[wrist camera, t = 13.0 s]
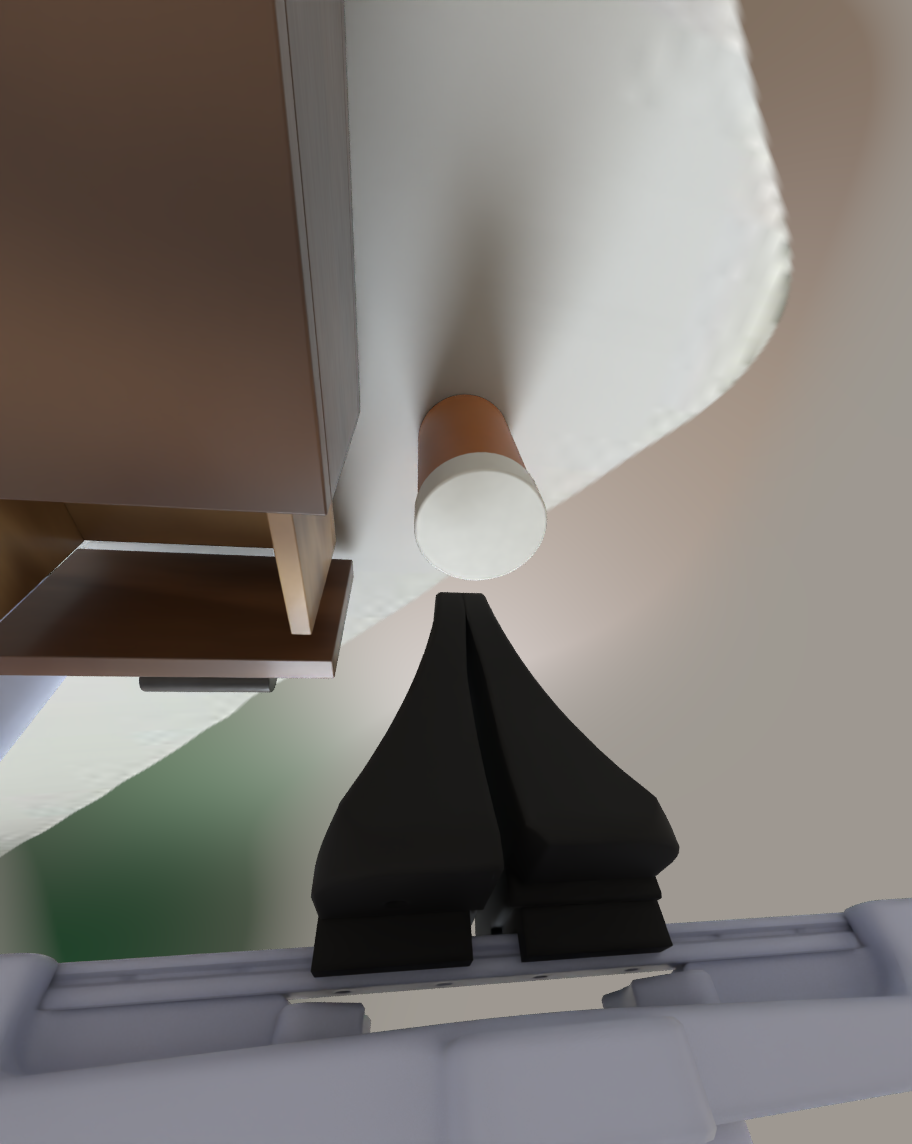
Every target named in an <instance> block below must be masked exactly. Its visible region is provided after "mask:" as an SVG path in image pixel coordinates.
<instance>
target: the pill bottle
mask: <svg viewBox="0 0 912 1144" xmlns="http://www.w3.org/2000/svg"><path fill="white" fill-rule="evenodd" d="M546 526H547V513H546V508H545V504H544V502H543V499H542V497H541V495H540V493H539V490H538V488H537V486H536V484H535V481H534V480H533V478H532V477H531V475H530V474H529V473H528V471H527V470H526V468H525V465H524V463H523V461H522V458H521V456H520V454H519V451H518V449H517V447H516V444H515V442H514V440H513V437H512V435H511V433H510V430H509V428H508V426H507V423H506V421H505V419H504V417H503V415H502V414H501V412H500V411H499V410H498V408H497V407H496V406H494V405H493V404H492V403H491V402H489V401H488V400H486V399H484V398H482V397H478V396H475V395H456V396H452V397H449V398H446V399H444V400H442V401H441V402H439V403H438V404H436V405H435V406H434V407H433V408H432V409H431V410H430V411H429V412H428V413H427V415H426V416H425V418H424V420H423V421H422V424H421V426H420V430H419V437H418V494H417V498H416V502H415V521H414V529H415V538H416V542H417V545H418V547H419V549H420V551H421V553H422V554H423V556H424V557H425V558H426V560H427V561H428V562H429V563H430V564H431V565H433V566H434V567H435V568H436V569H438V570H440V571H441V572H443V573H445V574H447V575H450V576H453V577H456V578H460V579H465V580H486V579H492V578H496V577H500V576H503V575H505V574H508V573H510V572H512V571H514V570H515V569H517V568H519V567H520V566H521V565H523V564H524V563H525V562H526V561H527V560H529V559H530V558H531V557H532V555H533V554H534V553H535V551H536V550H537V549H538V547H539V546H540V544H541V542H542V540H543V537H544V534H545V530H546Z"/></svg>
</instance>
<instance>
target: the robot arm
mask: <svg viewBox="0 0 912 1144" xmlns="http://www.w3.org/2000/svg"><path fill="white" fill-rule="evenodd" d="M47 577H48V576H47ZM47 577H45V578H44V579H43V580H42V581H41V582H40V583H39V584H38V585H37V586H36V587H35V588H34V589H33V590H32V591H34V590H35V589H36V588H37V587H38V586H39V585H40V584H41V583H42V582H43V581H44V580H45V579H46V578H47ZM32 591H31V592H32ZM31 592H30V593H31ZM30 593H29V594H30ZM29 594H28V595H29ZM28 595H26V596H25V597H24V598H23V599H22V600H21V601H20V602H19V603H18V604H17V605H16V606H15V607H14V608H13V609H12V610H11V611H13V610H14V609H15V608H16V607H17V606H18V605H19V604H20V603H21V602H22V601H23V600H24V599H25V598H26V597H27V596H28ZM11 611H10V612H11ZM10 612H9V613H10ZM9 613H8V614H9ZM8 614H6V615H5V616H4V617H3V618H2V619H1V620H0V622H1V621H2V620H3V619H4V618H5V617H6V616H7V615H8ZM66 677H67V676H24V675H0V761H1V760H2V759H3V757H4V756H5V755H6V754H7V752H8V751H9V750H10V748H11V747H12V746H13V745H14V743H15V742H16V741H17V739H18V738H19V737H20V736H21V734H22V733H23V732H24V730H25V729H26V728H27V727H28V725H29V724H30V723H31V721H32V720H33V719H34V718H35V716H36V715H37V714H38V713H39V711H40V710H41V709H42V707H43V706H44V705H45V704H46V702H47V701H48V700H49V698H50V697H51V696H52V695H53V693H54V692H55V691H56V689H57V688H58V687H59V686H60V684H61V683H62V682H63V680H64V679H65V678H66ZM678 853H679V844H678V842H677V840H676V837H675V835H674V833H673V830H672V828H671V825H670V823H669V821H668V819H667V817H666V815H665V813H664V812H663V810H662V808H661V806H660V804H659V802H658V800H657V798H656V797H655V796H654V795H652V794H651V793H650V792H649V791H648V790H646V789H645V788H644V787H643V786H641V785H640V784H639V783H638V782H636V781H635V780H634V779H633V778H631V777H630V776H629V775H628V774H626V773H625V772H624V771H623V770H622V769H620V768H619V767H618V766H617V765H616V764H615V763H614V762H612V761H611V760H610V759H609V758H608V757H607V756H606V755H605V754H604V753H603V752H601V751H600V750H599V749H598V748H597V747H596V746H595V745H594V744H593V743H592V742H591V741H590V740H589V739H588V738H587V737H586V736H585V735H584V734H583V733H582V732H581V731H580V730H579V729H578V728H577V727H576V726H575V725H574V724H573V723H572V722H571V721H570V720H569V719H568V718H567V716H566V715H565V714H564V713H563V712H562V711H561V710H560V709H559V708H558V706H557V705H556V704H555V703H554V702H553V701H552V699H551V698H550V697H549V696H548V695H547V693H546V692H545V691H544V690H543V689H542V687H541V686H540V685H539V683H538V682H537V681H536V680H535V678H534V677H533V676H532V674H531V673H530V671H529V670H528V669H527V667H526V666H525V664H524V663H523V662H522V660H521V659H520V657H519V656H518V654H517V653H516V651H515V649H514V648H513V646H512V645H511V643H510V641H509V640H508V639H507V637H506V635H505V633H504V632H503V630H502V628H501V627H500V625H499V623H498V621H497V620H496V618H495V616H494V614H493V612H492V610H491V608H490V606H489V604H488V602H487V600H486V597H485V596H484V595H483V594H481V593H448V592H440V593H438V594H437V595H436V600H435V612H434V621H433V625H432V629H431V633H430V636H429V639H428V643H427V646H426V649H425V652H424V654H423V657H422V660H421V662H420V665H419V668H418V670H417V673H416V675H415V678H414V680H413V682H412V684H411V686H410V689H409V691H408V693H407V695H406V697H405V699H404V701H403V703H402V705H401V707H400V709H399V711H398V712H397V714H396V716H395V718H394V720H393V722H392V724H391V725H390V727H389V729H388V731H387V732H386V734H385V736H384V737H383V739H382V741H381V742H380V744H379V746H378V747H377V749H376V751H375V752H374V754H373V755H372V757H371V758H370V760H369V762H368V763H367V765H366V766H365V768H364V769H363V771H362V772H361V774H360V775H359V776H358V778H357V779H356V781H355V782H354V784H353V785H352V786H351V788H350V789H349V791H348V792H347V793H346V795H345V796H344V798H343V799H342V800H341V802H340V803H339V806H338V809H337V811H336V813H335V815H334V817H333V819H332V821H331V823H330V826H329V828H328V830H327V833H326V835H325V837H324V840H323V842H322V845H321V848H320V851H319V854H318V857H317V861H316V865H315V871H314V878H313V885H312V893H311V898H312V901H313V903H314V906H315V908H316V911H317V913H318V924H317V930H316V937H315V944H314V947H302V948H287V949H270V950H255V951H240V952H224V953H209V954H193V955H179V956H163V957H148V958H132V959H116V960H101V961H85V962H71V963H57V961H56V960H55V959H53V958H51V957H49V956H46V955H42V954H34V953H13V954H0V1144H753V1142H752V1139H751V1136H750V1134H749V1131H748V1128H747V1125H746V1123H745V1120H748V1119H753V1118H759V1117H765V1116H771V1115H776V1114H782V1113H787V1112H794V1111H799V1110H805V1109H811V1108H816V1107H821V1106H828V1105H834V1104H839V1103H845V1102H851V1101H857V1100H862V1099H868V1098H874V1097H880V1096H886V1095H891V1094H897V1093H903V1092H909V1091H912V898H902V899H886V900H874V901H868V902H864V903H860V904H857V905H854V906H852V907H850V908H847V909H846V910H845V911H844V912H841V913H826V914H810V915H795V916H780V917H765V918H748V919H733V920H719V921H718V920H717V921H703V922H687V923H671V924H665V921H664V918H663V915H662V912H661V910H660V907H659V904H658V901H657V900H659V899H661V898H662V896H661V890H660V888H659V885H658V882H657V879H656V877H655V876H656V875H658V874H659V873H660V872H661V871H662V870H664V868H666V867H667V866H668V865H670V864H671V863H672V862H673V860H675V858H676V857H677V855H678ZM474 919H475V934H476V936H472V934H471V925H472V922H473V920H474ZM664 970H673V972H672V973H671V974H665V975H659V976H653V977H648V978H642V979H636V980H633V981H632V983H631V984H630V985H629V986H627V987H625V988H623V989H621V990H618V991H615V992H612V993H609V994H606V995H604V996H603V998H602V1003H603V1007H604V1009H591V1010H577V1011H564V1012H552V1013H541V1014H530V1015H519V1016H509V1017H499V1018H489V1019H480V1020H472V1021H463V1022H454V1023H446V1024H438V1025H430V1026H422V1027H414V1028H406V1029H397V1030H390V1031H381V1032H373V1033H370V1026H371V1020H370V1018H369V1017H368V1016H367V1015H364V1013H365V1012H364V1011H365V1008H364V1006H363V1005H362V1003H332V1002H327V1003H326V1002H306V1003H296V1004H291V1003H290V1002H289V1001H288V1000H293V999H306V998H318V997H331V996H344V995H357V994H370V993H383V992H395V991H408V990H420V989H433V988H446V987H459V986H471V985H485V984H498V983H510V982H523V981H536V980H549V979H560V978H574V977H587V976H600V975H613V974H625V973H638V972H651V971H664Z"/></svg>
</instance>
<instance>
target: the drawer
mask: <svg viewBox="0 0 912 1144" xmlns="http://www.w3.org/2000/svg"><path fill="white" fill-rule="evenodd" d="M84 540H93V541H116V542H139V543H163V544H186V545H209V546H233V547H256V548H274V553H275V557H268V556H244V555H219V554H195V553H170V552H145V551H121V550H96V549H77V550H76V551H74V550H75V549H76V548H77V547H78V546H79V545H80V544H81V543H82V542H83V541H84ZM335 544H336V536H335V525H334V514H333V503H332V502H331V504H330V507H329V510H328V513H327V515H326V516H317V515H298V514H279V513H259V512H240V511H221V510H202V509H182V508H163V507H144V506H125V505H105V504H86V503H67V502H47V501H28V500H9V499H0V620H1V619H2V618H3V617H4V616H5V615H6V614H8V613H9V612H10V611H11V610H12V609H13V608H14V607H15V606H16V605H17V604H18V603H19V602H20V601H21V600H22V599H23V598H24V597H25V596H26V595H28V594H29V593H30V592H31V591H32V590H33V589H34V588H35V587H36V586H37V585H38V584H39V583H40V582H41V581H42V580H43V579H44V578H45V577H47V576H48V575H49V574H50V573H51V572H52V571H53V570H54V569H55V568H56V567H57V566H58V565H59V564H60V563H61V562H62V561H63V560H64V559H66V558H67V557H68V556H69V555H70V554H71V553H72V552H73V551H74V552H73V553H72V554H71V555H70V556H69V557H68V558H67V559H66V560H65V561H64V562H63V563H62V564H61V565H60V566H59V567H58V568H57V569H56V570H55V571H53V572H52V573H51V574H50V575H49V576H48V577H47V578H46V579H45V580H44V581H43V582H42V583H41V584H40V585H39V586H38V587H37V588H36V589H35V590H34V591H32V592H31V593H30V594H29V595H28V596H27V597H26V598H25V599H24V600H23V601H22V602H21V603H20V604H19V605H18V606H17V607H16V608H15V609H14V610H13V611H11V612H10V613H9V614H8V615H7V616H6V617H5V618H4V619H3V620H2V621H1V622H0V675H24V676H130V677H139V685H140V688H141V690H143V691H145V692H272V691H273V690H274V688H275V685H276V681H277V678H334V677H335V672H336V666H337V661H338V656H339V650H340V645H341V640H342V635H343V629H344V624H345V619H346V613H347V608H348V603H349V598H350V592H351V587H352V582H353V561H352V560H342V559H332V556H333V552H334V547H335Z"/></svg>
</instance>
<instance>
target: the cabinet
mask: <svg viewBox="0 0 912 1144" xmlns="http://www.w3.org/2000/svg"><path fill="white" fill-rule="evenodd" d="M359 413H360V396H359V370H358V345H357V319H356V293H355V268H354V242H353V216H352V191H351V165H350V139H349V114H348V88H347V63H346V37H345V11H344V0H0V499H9V500H28V501H47V502H67V503H86V504H105V505H125V506H144V507H163V508H182V509H202V510H221V511H240V512H259V513H279V514H298V515H317V516H326V515H327V513H328V510H329V507H330V504H331V502H332V499H333V496H334V493H335V490H336V487H337V484H338V480H339V477H340V474H341V471H342V468H343V465H344V461H345V458H346V455H347V452H348V449H349V446H350V443H351V439H352V436H353V433H354V430H355V427H356V424H357V420H358V416H359Z"/></svg>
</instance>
